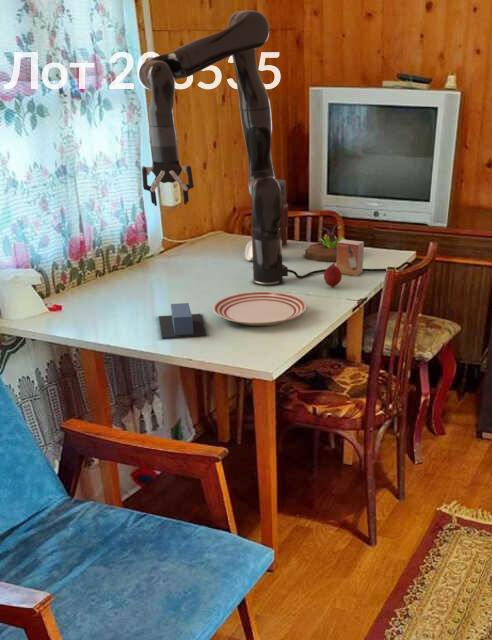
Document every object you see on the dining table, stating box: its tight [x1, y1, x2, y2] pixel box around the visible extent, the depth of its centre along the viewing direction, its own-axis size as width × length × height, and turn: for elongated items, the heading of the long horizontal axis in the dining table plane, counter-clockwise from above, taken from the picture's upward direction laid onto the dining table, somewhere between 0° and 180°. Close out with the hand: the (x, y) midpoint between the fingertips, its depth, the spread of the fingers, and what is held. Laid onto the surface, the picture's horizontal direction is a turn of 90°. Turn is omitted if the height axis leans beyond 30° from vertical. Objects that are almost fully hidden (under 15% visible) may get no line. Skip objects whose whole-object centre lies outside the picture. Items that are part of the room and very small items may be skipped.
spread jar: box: [244, 236, 283, 262], centre depth 267 cm, size 12×11×12 cm
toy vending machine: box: [273, 167, 289, 248], centre depth 281 cm, size 9×11×28 cm
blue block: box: [170, 302, 194, 335], centre depth 206 cm, size 5×5×12 cm
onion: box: [323, 262, 343, 288], centre depth 241 cm, size 6×6×8 cm
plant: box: [304, 224, 345, 263], centre depth 275 cm, size 20×20×11 cm
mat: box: [158, 313, 207, 340], centre depth 209 cm, size 12×18×1 cm, turn 14°
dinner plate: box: [212, 290, 308, 327], centre depth 217 cm, size 28×27×3 cm
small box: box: [335, 238, 365, 277], centre depth 256 cm, size 8×6×10 cm
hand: (170, 204), depth 217 cm, fingers open, 8 cm apart
